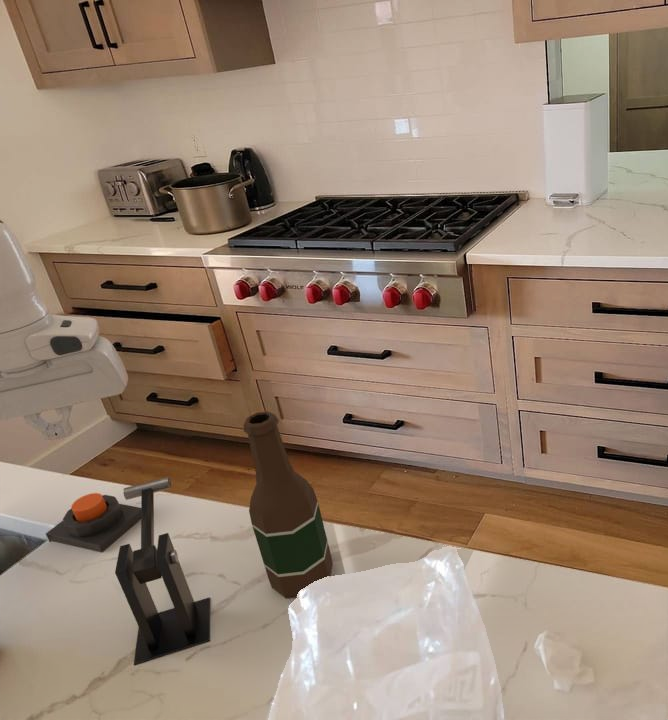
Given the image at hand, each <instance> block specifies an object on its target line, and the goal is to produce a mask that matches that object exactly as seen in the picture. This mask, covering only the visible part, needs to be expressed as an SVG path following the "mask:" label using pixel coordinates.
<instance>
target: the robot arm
mask: <svg viewBox="0 0 668 720" xmlns="http://www.w3.org/2000/svg"><path fill="white" fill-rule="evenodd" d="M36 285H37V284H36V277H35V274H34V272H33V269H32V267H31V265H30V262H29V260H28V258H27V255H26V254H25V252H24V249H23V248H22V246H21V244H20V242H19V240H18V239H17V237H16V235H15V233H14V232H13V231H12V229H11V227H9V226H8V224H6V223H5V222H4V221H3V220H1V219H0V422H5V421H9V420H13V419H17V418H22V417H23V419H24V421H25V423H26V424H28V425H30V426H31V427H32V428H34V429H35V430H37V431H39V432H41V434H42V436H43V438H44V440H45V442H49V441H53V440H57V439H62V438H63V439H64V438H67V437H71V436H72V434H73V427H72V424H71V422H70V417H71V413H72V410H73V405H78V404H82V403H87V402H91V401H96V400H101V399H104V398H109V397H114V396H119V395H121V394H123V393H124V392H125V389H126V388H127V386H128V382H129V374H128V372H127V370H126V367H125V365H124V362H123V360H122V358H121V357H120V354H119V353H118V351H117V349H116V347H115V346H114V345H113V344H112V342H111V341H110V340H109V339H108V338H106V337H105V336H101V335H100V325H99V322H98V320H97V319H96V318H94V317H89V316H74V315H73V316H72V315H70V316H69V315H60V314H51V312H50V310H49V307H48V306H47V305H46V303H45V302H44V301H43V300H42V299H41V297H40V295H39V293H38V290H37V287H36ZM52 410H55V412H56V414H57V415H58V416H61V415H62V417H61V420H59V421H54V422H49V421H48V420H46V419H45V418H43V417H42V416H41V414H42V413H44V412H48V411H52Z"/></svg>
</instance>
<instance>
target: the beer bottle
mask: <svg viewBox="0 0 668 720" xmlns="http://www.w3.org/2000/svg"><path fill="white" fill-rule="evenodd" d="M279 422H280V420H279V419H278V417H277V416H276V414H275V413H272V412H271V411H268V410H267V411H260V412H256V413H253V414H251V415H249V416H247V417H246V418H245V421H244V423H243V432H244V433H246V434H247V437H248V443H249V446H250V453H251V457H252V460H253V461H252V462H253V465H254V466H253V467H254V472H255V483H256V484H255V485H254V489H253V491H252V494H251V497H250V500H249V507H248V508H249V510H248V512H249V517H250V518H249V519H250V523H251V527H252V530H253V534H254V536H255V539H256V543H257V546H258V549H259V552H260V557H261V558H262V562H263V565H264V568H265V572H266V576H267V578H268V581H269V584H270V587H271V589H273V590H274V591H275V592H277V593H278V594H279V595H280V596H281V597H283V598H284V599H285V600H286V599H292V598H297V597H296V596H297V594H298V592H299V591H300V590H301V589H303V588H305V587H306V586H308V585H309V584H311V583H313V582H314V581H317V580H319V579H322V578H324V577H327V576H330V577H331V575H332V570H333V564H334V563H333V558H332V557H333V556H332V554H331V553H332V552H331V549H330V544H329V540H328V537H327V533H326V530H325V525H324V521H323V517H322V513H321V509H320V505H319V502H318V498H317V495H316V492H315V489H314V488H313V486H312V485H311V483H309V481H308V480H307V479H306V478H304V477H303V476H302V475H300V474H299V473H298V472H295V469H294V468H293V466H292V464H291V462H290V459H289V456H288V454H287V451H286V448H285V445H284V442H283V439H282V436H281V433H280V431H279V427H278V424H279Z"/></svg>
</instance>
